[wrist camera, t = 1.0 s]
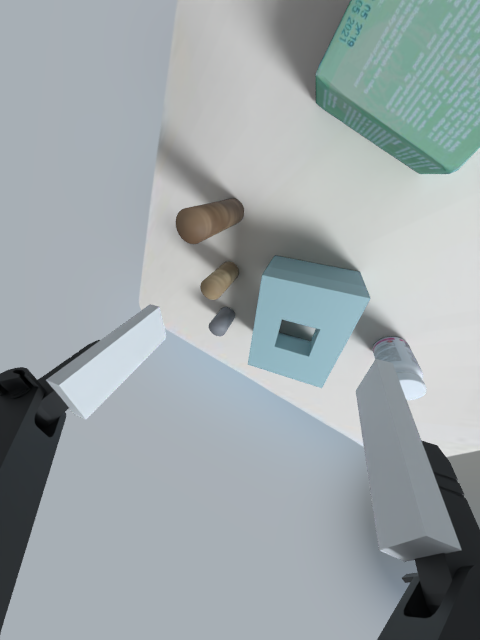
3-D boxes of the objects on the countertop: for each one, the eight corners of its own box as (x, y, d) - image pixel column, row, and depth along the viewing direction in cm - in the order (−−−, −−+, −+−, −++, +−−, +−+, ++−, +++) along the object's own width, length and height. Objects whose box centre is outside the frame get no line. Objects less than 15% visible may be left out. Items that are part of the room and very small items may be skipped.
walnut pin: (223, 197, 28) (174, 205, 19) (245, 200, 28) (204, 210, 18) (222, 222, 30) (177, 241, 21) (242, 225, 29) (205, 246, 20)
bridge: (274, 255, 30) (262, 275, 24) (360, 271, 28) (370, 298, 22) (259, 335, 40) (247, 364, 34) (322, 353, 37) (321, 388, 31)
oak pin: (221, 259, 34) (200, 276, 28) (239, 263, 33) (221, 281, 27) (220, 277, 35) (200, 296, 30) (238, 281, 35) (220, 302, 29)
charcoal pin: (220, 305, 39) (208, 319, 35) (235, 309, 38) (225, 324, 34) (219, 318, 41) (208, 333, 37) (234, 322, 40) (225, 338, 36)
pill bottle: (368, 356, 34) (379, 397, 28) (376, 333, 32) (390, 373, 25) (402, 360, 33) (421, 405, 26) (413, 338, 30) (438, 381, 24)
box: (421, 178, 21) (459, 176, 15) (314, 106, 21) (310, 76, 15) (511, 80, 17) (613, 25, 11) (374, -14, 16) (402, -124, 10)
